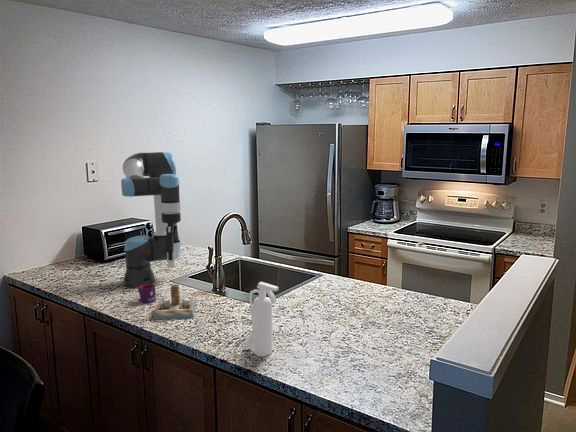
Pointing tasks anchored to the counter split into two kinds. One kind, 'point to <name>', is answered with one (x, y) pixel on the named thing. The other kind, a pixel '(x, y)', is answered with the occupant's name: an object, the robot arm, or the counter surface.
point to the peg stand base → (175, 304)
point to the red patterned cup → (147, 293)
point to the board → (176, 315)
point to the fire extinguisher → (262, 319)
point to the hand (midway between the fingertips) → (173, 262)
